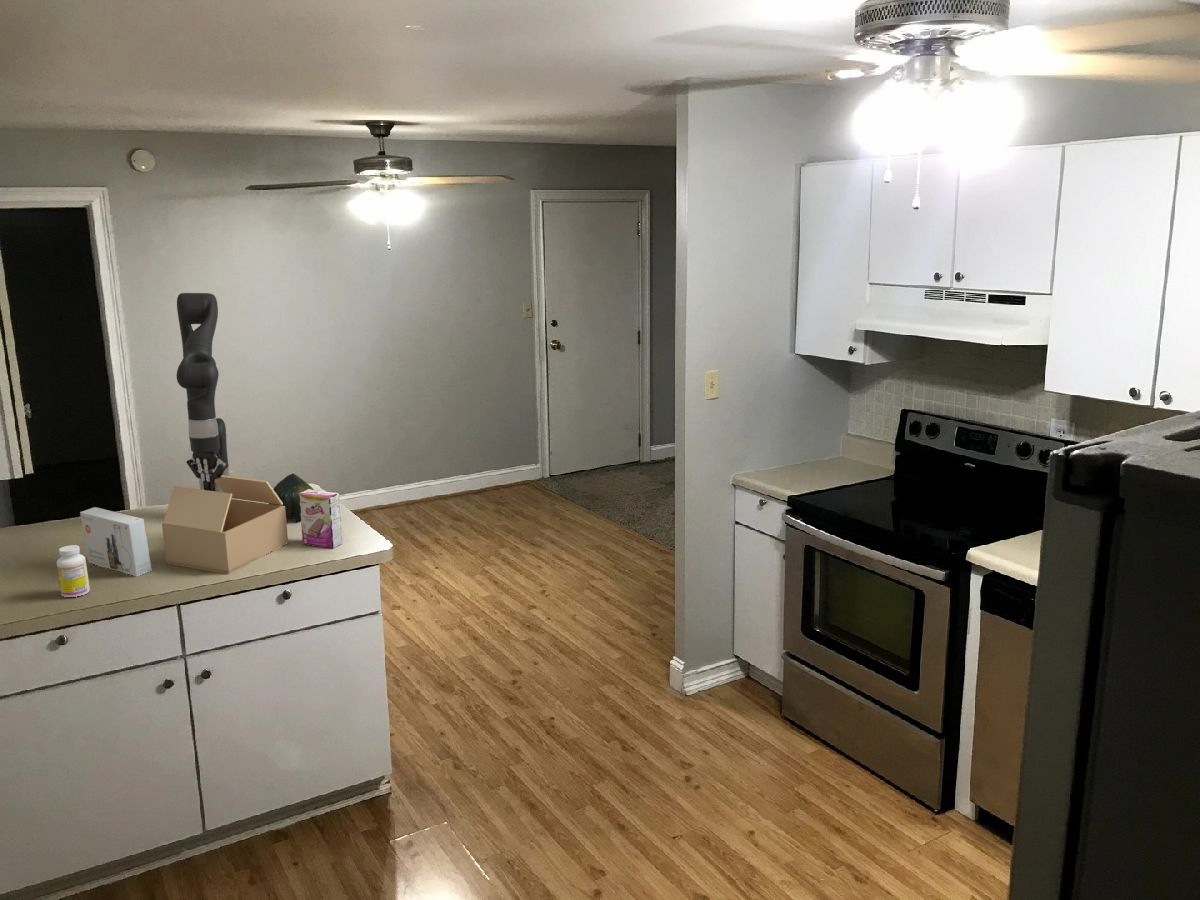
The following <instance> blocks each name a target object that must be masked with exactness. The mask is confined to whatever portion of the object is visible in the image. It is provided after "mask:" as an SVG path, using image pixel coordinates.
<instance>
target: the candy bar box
mask: <svg viewBox="0 0 1200 900" xmlns="http://www.w3.org/2000/svg"><path fill="white" fill-rule="evenodd" d="M299 501H300V514H301V520H300V523H301V538H302V544H303V545H305V544H309V545H308V546H312V545H314V546H313V547H318V546H320V547H321V548H325V547H326V549H332V548H333V550H334V549H336V548H337V546H338V547H339V546H341V545H342V544H343V537H342V536H343V535H342V519H341V518H342V517H341V506H340V505H341V504H340V493H338V492H331V491H324V490H318V489H317V490H316V489H314V490H311V489H307V490H305V491H303V492H301V493H299ZM340 544H341V545H340ZM320 547H319V548H320ZM335 547H336V548H335Z"/></svg>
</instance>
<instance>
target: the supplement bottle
mask: <svg viewBox="0 0 1200 900" xmlns="http://www.w3.org/2000/svg"><path fill="white" fill-rule="evenodd" d="M80 551H81V550H80V546H79V545H77V544H71V545H66V546H62V547H60V548H59V549H58V555H60V557H59V558H58V559H57V560H56V568H57V575H58V580H59V588H60V593H61V596H62V597H63V596H64V597H63V598H65V597H76V598H78V597H77V596H81V595H83V596H85V594H86V595H87V594H89V592H90V590H91V589H90V581H89V574H88V566H87V561H86V557H85V556H84V555H83V554H81V553H80ZM81 597H82V596H81Z"/></svg>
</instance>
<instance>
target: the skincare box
mask: <svg viewBox="0 0 1200 900" xmlns="http://www.w3.org/2000/svg"><path fill="white" fill-rule="evenodd" d="M79 514H80V519H81V526H82V532H83V537H84V543H85V547H86V554H87V560H88V564H89V563H93V564H95V565H94V566H96V565H99V566H98V567H100V566H102V567H101V568H103V567H106V568H105V569H107V568H110V569H113V570H117V571H121V572H124V573H127V574H130V575H129V576H131V575H133V576H132V577H134V576H139V577H141V576H143V575H142V574H144V575H145V573H146V574H148V573H147V572H149V573H151V572H152V571H153V570H152V563H151V558H150V550H149V543H148V538H147V533H146V526H145V519H144V518H141V517H137V516H133V515H129V514H126V513H121V512H116V511H113V510H108V509H105V508H101V507H96V506H94V507H91V508H88V509H85V510H83V511H80V512H79ZM93 564H92V565H93ZM110 569H109V570H110ZM113 570H112V571H113ZM117 571H116V572H117ZM150 571H151V572H150ZM124 573H123V574H124ZM127 574H126V575H127ZM140 575H141V576H140Z"/></svg>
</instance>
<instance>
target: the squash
mask: <svg viewBox="0 0 1200 900" xmlns="http://www.w3.org/2000/svg"><path fill="white" fill-rule="evenodd" d="M272 488H273V490H274V491H275V493H276V494H277V495H278V497H279V498H280V500H281V501H282V502H283V505H281V506H285V511H286V520H287V519H293V520H294V521H296V522H301V514H300V501H299V493H301V492H303V491H305V490H307V489H311V490H315V489H314V488H313V487H312V486H311V485H310V484H309V483H307V482H306V481H305V480H304V479H302V478H301V477H300V476H298V475H297V474H296V473H290V474H288V475H287V476H286V477H284V478H283V479H282V480H280V481H279V482H278V483H276V485H275V486H274V487H272ZM268 504H270V503H268ZM273 505H278V504H273Z"/></svg>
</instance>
